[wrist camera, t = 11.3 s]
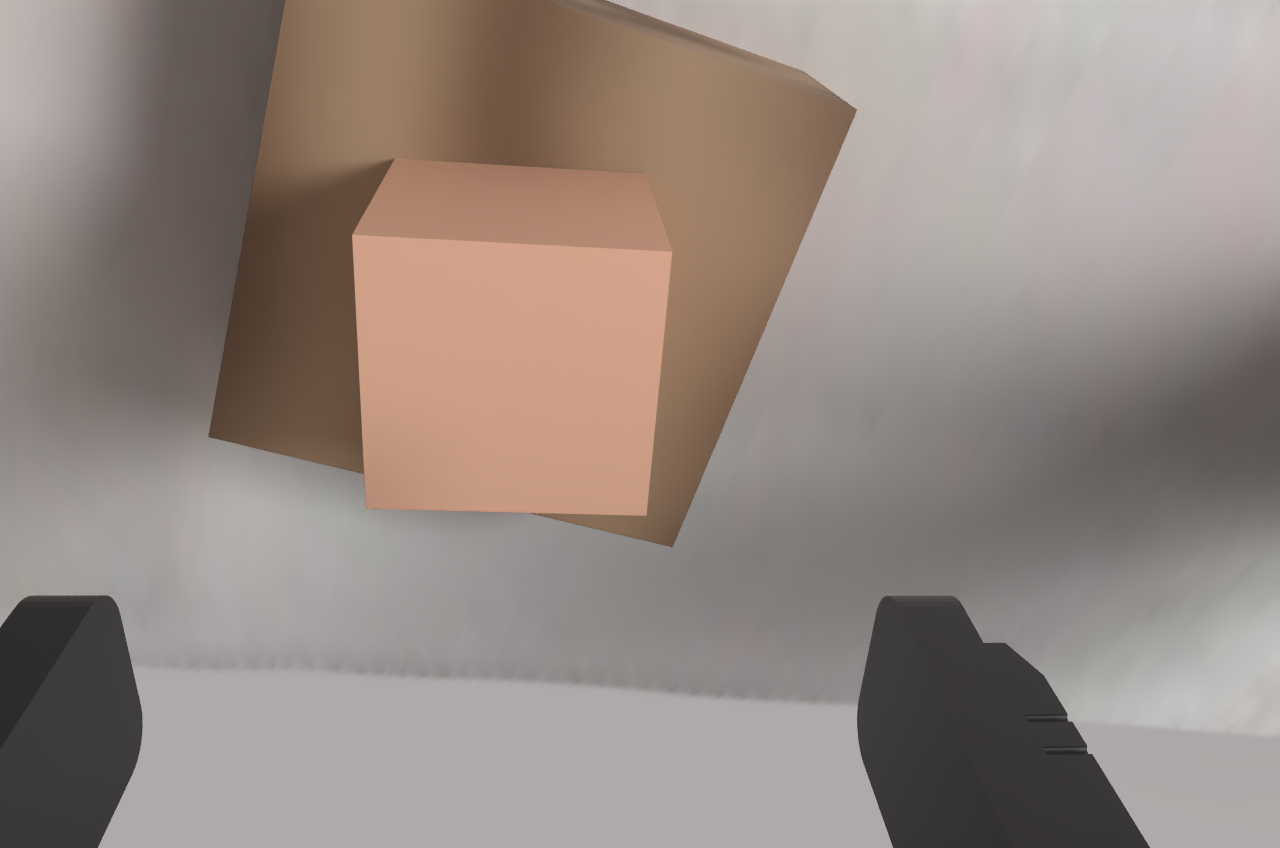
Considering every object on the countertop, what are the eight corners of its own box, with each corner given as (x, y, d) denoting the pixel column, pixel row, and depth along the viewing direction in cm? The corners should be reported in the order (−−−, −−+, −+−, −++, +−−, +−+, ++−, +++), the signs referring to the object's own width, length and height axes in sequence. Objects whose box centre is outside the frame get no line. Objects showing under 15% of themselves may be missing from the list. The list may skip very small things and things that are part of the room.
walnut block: (801, 69, 25) (856, 109, 21) (652, 447, 30) (672, 546, 25) (347, -95, 23) (300, -87, 18) (262, 346, 27) (208, 437, 23)
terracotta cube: (646, 173, 21) (671, 251, 16) (628, 395, 23) (646, 515, 19) (394, 158, 20) (352, 234, 16) (401, 386, 23) (366, 508, 18)
